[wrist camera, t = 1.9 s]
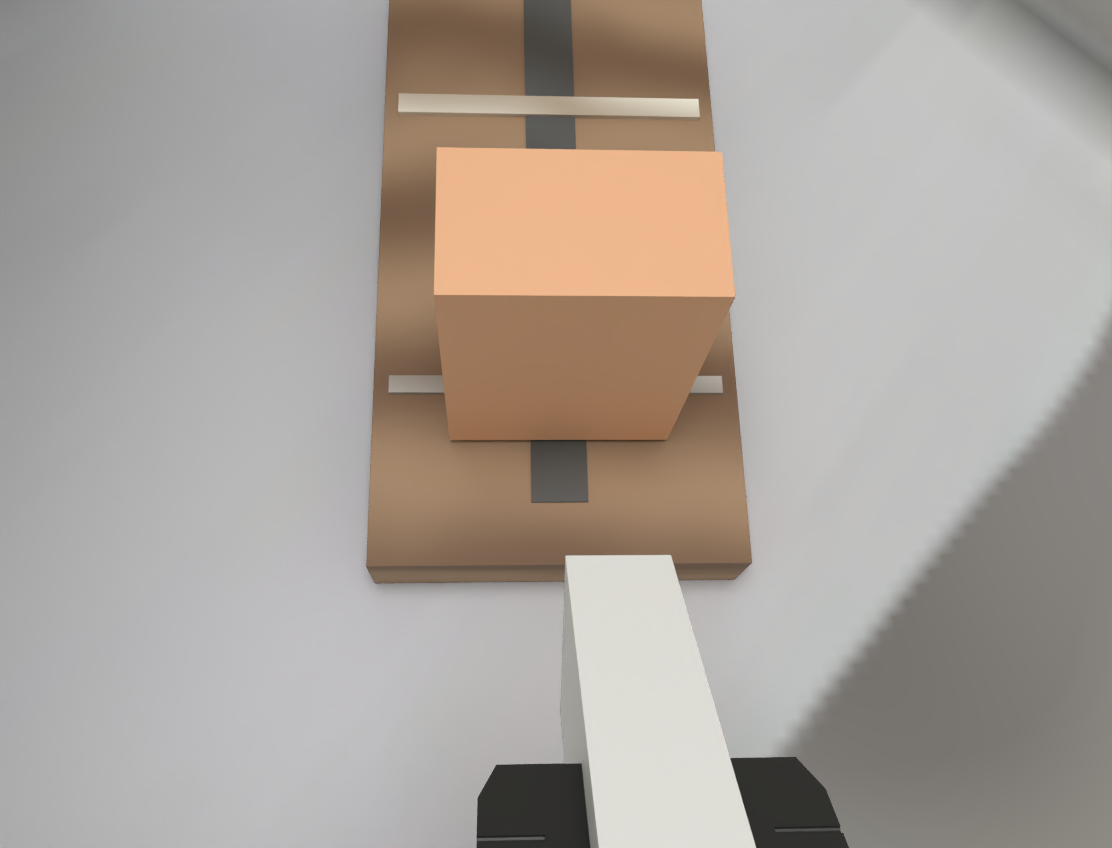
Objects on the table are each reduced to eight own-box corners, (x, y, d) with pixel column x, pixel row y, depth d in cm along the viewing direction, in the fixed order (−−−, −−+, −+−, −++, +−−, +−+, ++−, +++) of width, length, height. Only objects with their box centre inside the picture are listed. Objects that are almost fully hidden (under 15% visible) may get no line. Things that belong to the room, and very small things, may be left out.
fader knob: (667, 439, 34) (735, 296, 24) (449, 440, 33) (433, 294, 24) (659, 327, 35) (721, 151, 26) (451, 326, 35) (436, 147, 25)
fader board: (734, 579, 35) (753, 561, 33) (374, 583, 34) (365, 564, 32) (686, 9, 43) (699, -41, 41) (396, 2, 43) (390, -49, 40)
